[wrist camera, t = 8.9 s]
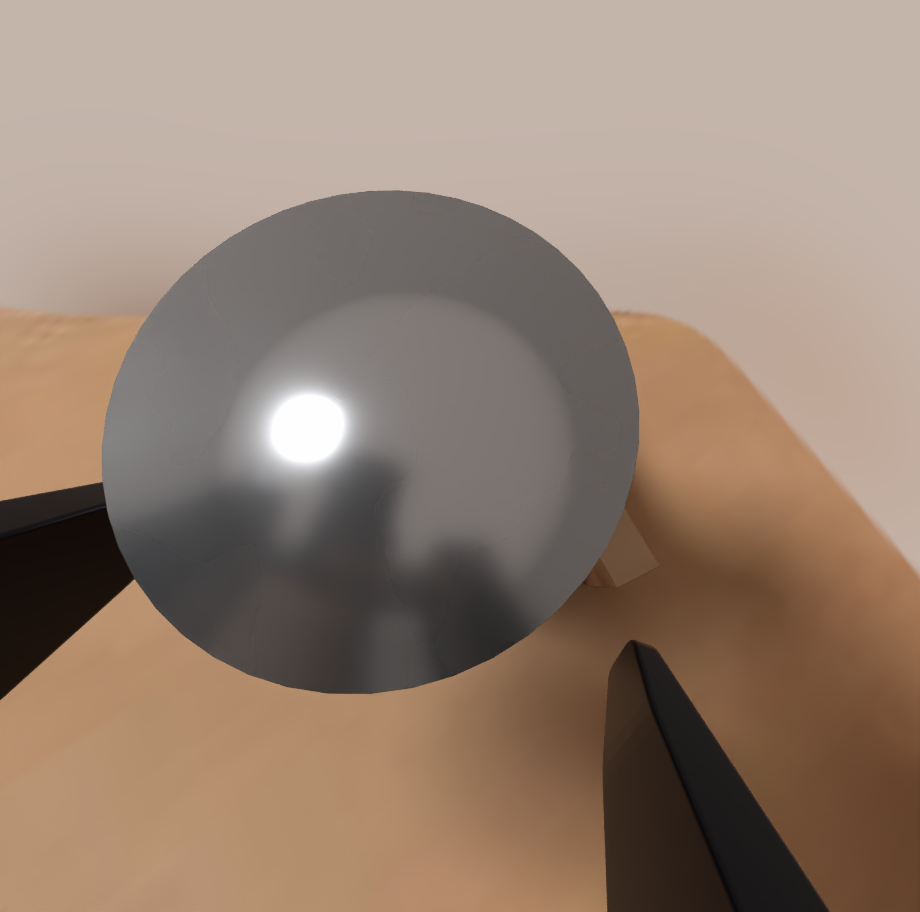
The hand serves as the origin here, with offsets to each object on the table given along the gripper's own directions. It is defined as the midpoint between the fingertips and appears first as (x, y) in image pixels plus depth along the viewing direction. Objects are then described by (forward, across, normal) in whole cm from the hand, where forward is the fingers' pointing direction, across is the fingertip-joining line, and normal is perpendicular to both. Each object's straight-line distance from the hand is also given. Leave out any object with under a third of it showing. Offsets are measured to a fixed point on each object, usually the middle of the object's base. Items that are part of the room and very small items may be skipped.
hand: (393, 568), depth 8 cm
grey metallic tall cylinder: (+8, 0, +5) cm, 9 cm away
